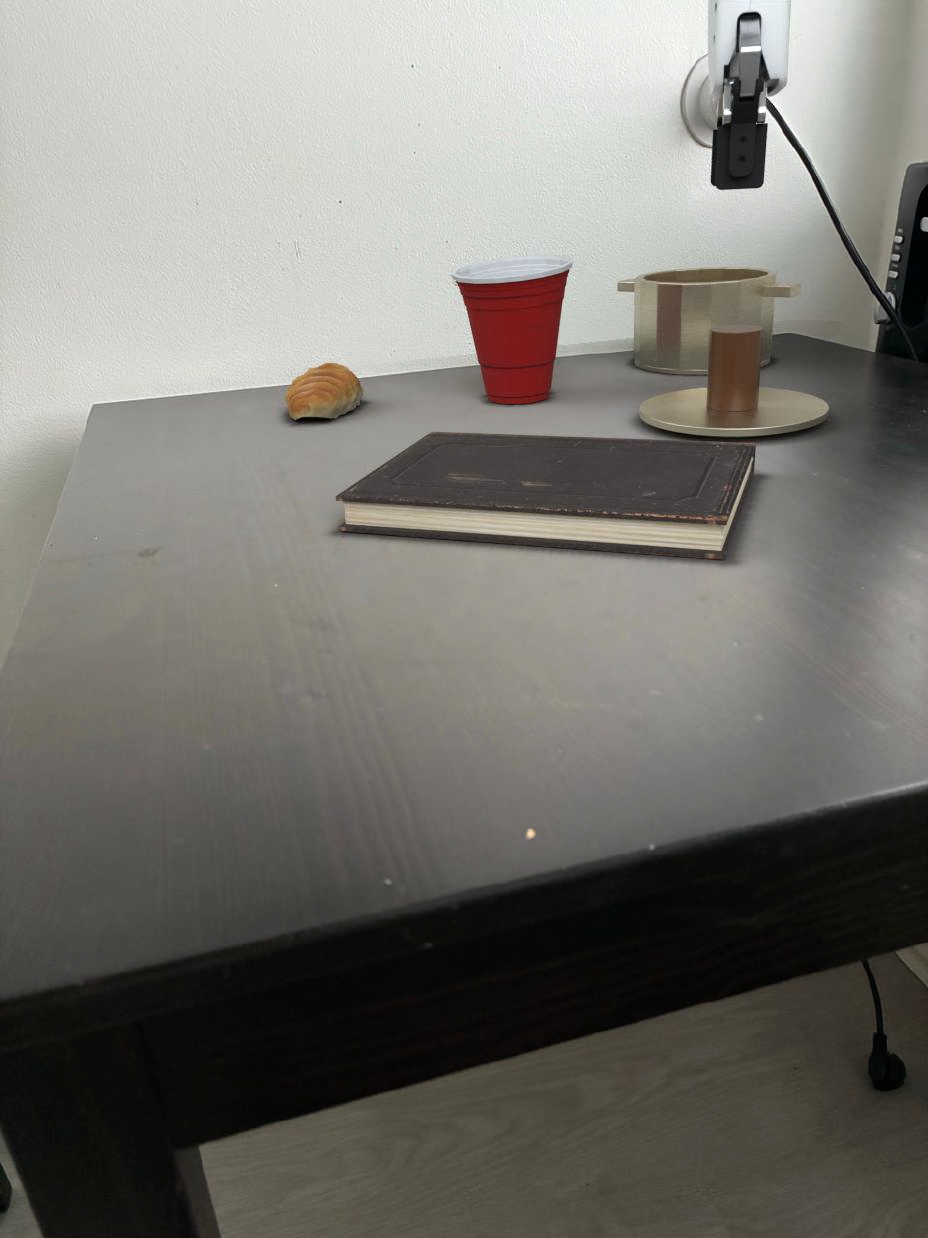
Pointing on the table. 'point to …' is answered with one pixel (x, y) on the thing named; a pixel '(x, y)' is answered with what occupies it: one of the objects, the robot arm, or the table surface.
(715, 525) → the hardcover book
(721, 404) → the lid
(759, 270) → the pot
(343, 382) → the pastry
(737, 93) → the robot arm
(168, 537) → the table surface
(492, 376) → the plastic cup
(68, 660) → the table surface
